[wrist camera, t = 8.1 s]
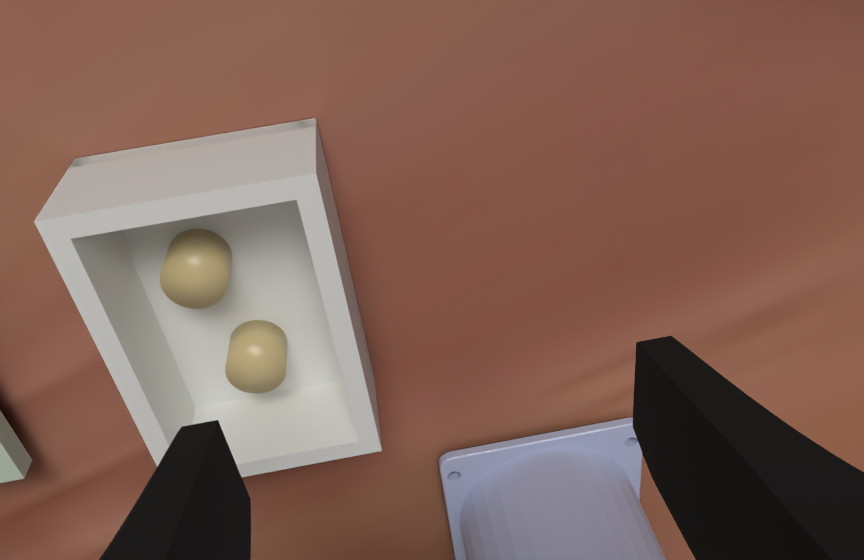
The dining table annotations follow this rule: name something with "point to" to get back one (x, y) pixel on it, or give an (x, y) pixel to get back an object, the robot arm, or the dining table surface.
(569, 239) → the dining table surface
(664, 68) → the dining table surface
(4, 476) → the lid
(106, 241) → the tub
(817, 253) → the dining table surface
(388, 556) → the dining table surface
